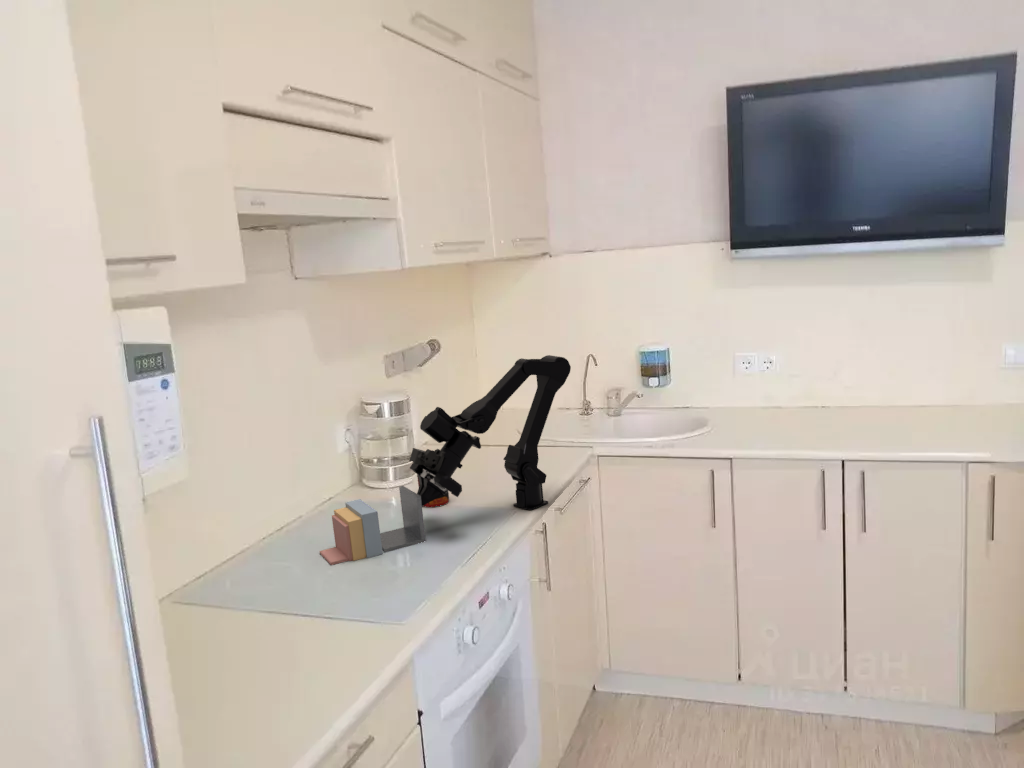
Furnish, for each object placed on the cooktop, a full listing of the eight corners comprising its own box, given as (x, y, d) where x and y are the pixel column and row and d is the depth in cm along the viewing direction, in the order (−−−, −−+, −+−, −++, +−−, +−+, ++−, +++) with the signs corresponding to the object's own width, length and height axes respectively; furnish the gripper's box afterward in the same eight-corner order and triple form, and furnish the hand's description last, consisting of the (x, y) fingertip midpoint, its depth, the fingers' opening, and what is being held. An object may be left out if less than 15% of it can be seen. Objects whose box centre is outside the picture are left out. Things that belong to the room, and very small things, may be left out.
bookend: (408, 529, 200) (402, 485, 198) (425, 541, 190) (420, 495, 189) (368, 539, 195) (363, 494, 194) (385, 552, 186) (379, 505, 184)
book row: (365, 539, 195) (360, 499, 194) (382, 553, 185) (377, 511, 183) (317, 551, 190) (312, 510, 188) (333, 567, 180) (327, 523, 178)
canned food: (430, 509, 213) (425, 468, 212) (415, 503, 220) (410, 463, 218) (455, 502, 218) (451, 461, 216) (439, 496, 224) (435, 457, 222)
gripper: (412, 428, 202) (375, 481, 199) (444, 441, 186) (404, 499, 183) (445, 453, 207) (409, 505, 204) (478, 467, 191) (440, 524, 188)
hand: (414, 508), depth 194 cm, fingers closed
